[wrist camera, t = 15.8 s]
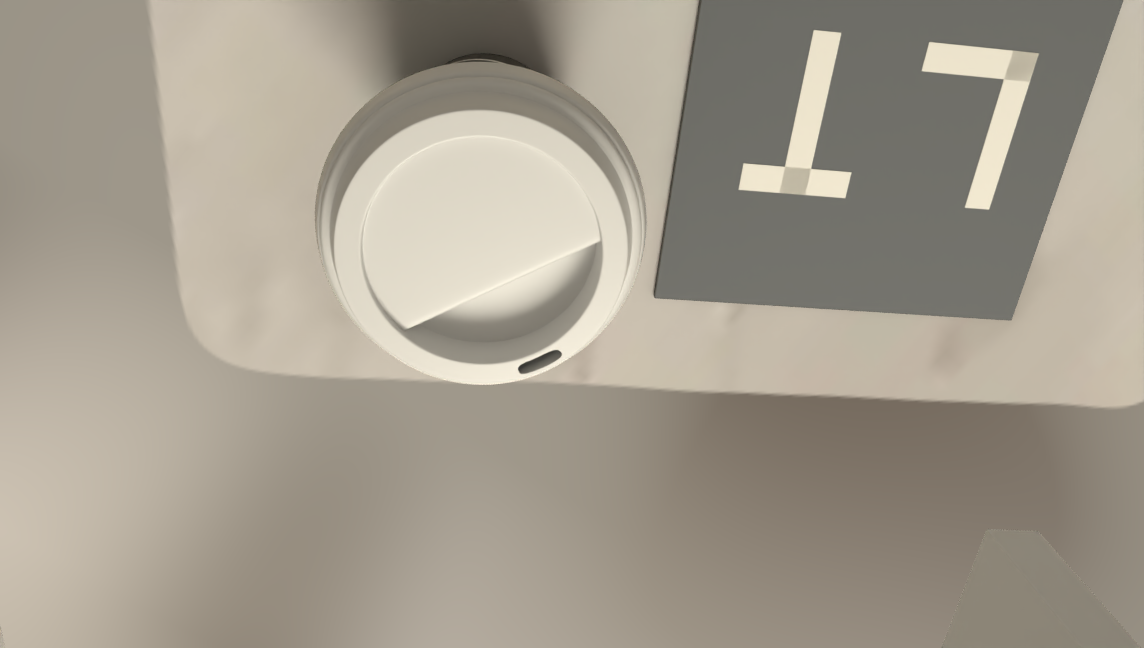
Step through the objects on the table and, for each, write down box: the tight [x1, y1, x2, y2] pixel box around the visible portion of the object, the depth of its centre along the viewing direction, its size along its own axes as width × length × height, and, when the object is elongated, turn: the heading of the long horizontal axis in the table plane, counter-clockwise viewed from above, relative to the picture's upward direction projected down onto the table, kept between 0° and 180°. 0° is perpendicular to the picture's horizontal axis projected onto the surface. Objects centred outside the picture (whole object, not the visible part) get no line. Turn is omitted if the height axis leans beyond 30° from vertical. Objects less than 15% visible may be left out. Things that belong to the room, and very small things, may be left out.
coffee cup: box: [315, 54, 646, 385], centre depth 30 cm, size 10×10×15 cm
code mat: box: [654, 0, 1123, 320], centre depth 38 cm, size 18×18×1 cm
